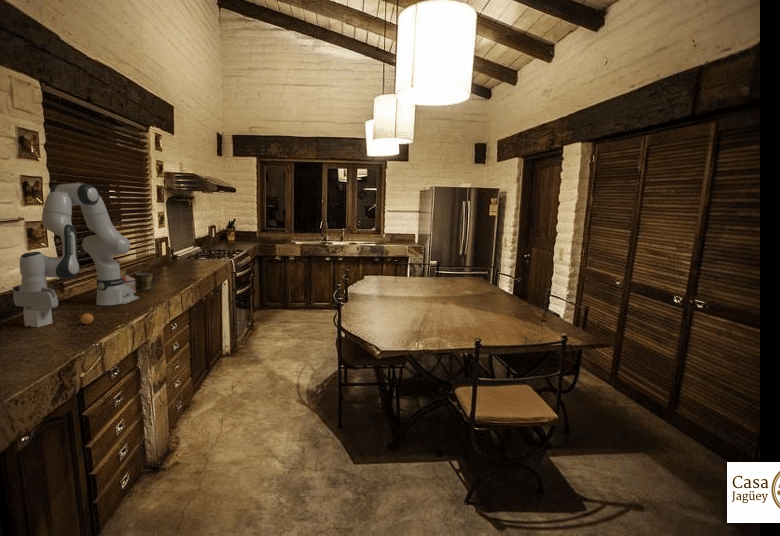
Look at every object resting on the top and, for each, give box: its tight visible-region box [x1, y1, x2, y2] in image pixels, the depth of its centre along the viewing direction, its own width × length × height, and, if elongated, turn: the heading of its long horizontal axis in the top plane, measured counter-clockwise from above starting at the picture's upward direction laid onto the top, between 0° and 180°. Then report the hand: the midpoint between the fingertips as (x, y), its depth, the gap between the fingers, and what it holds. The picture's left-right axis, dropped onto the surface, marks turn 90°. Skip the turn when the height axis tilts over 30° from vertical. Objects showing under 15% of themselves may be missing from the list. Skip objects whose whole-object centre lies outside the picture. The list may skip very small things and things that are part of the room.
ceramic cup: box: [135, 272, 154, 290], centre depth 276 cm, size 13×10×10 cm
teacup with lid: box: [123, 274, 137, 294], centre depth 261 cm, size 12×9×12 cm
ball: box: [80, 313, 94, 325], centre depth 195 cm, size 5×5×5 cm
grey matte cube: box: [22, 307, 53, 328], centre depth 192 cm, size 7×7×8 cm
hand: (37, 316), depth 192 cm, fingers closed on grey matte cube, 7 cm apart
